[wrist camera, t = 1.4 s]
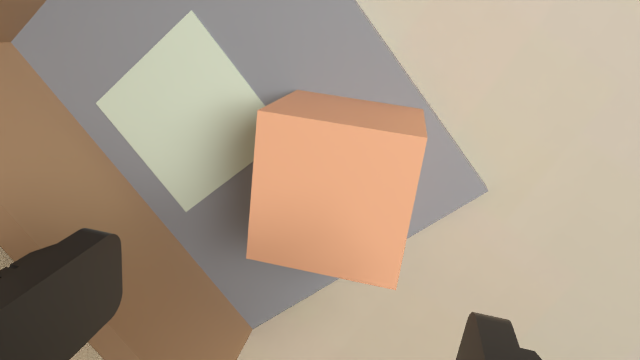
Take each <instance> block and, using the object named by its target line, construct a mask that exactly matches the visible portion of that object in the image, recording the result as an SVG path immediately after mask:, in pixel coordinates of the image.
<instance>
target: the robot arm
mask: <svg viewBox="0 0 640 360" xmlns="http://www.w3.org/2000/svg"><path fill="white" fill-rule="evenodd" d="M122 293H123V285H122V249H121V240H120V238H119V236H118V235H116V234H113V233H108V232H103V231H99V230H94V229H89V228H82V229H80V230H78V231H76V232H75V233H73V234H71V235H70V236H68V237H67V238H65V239H63V240H62V241H60V242H58V243H57V244H54V245H51V246H48V247H45V248H42V249H39V250H36V251H33V252H30V253H29V254H27V255H25V256H24V257H22V258H20V259H19V260H17V261H15V262H14V263H12V264H10V267H9V268H8V267H5V268H3V269H2V270H0V360H70V359H71V358H72V357H73V356H74V355H75V354H76V353H77V352H78V351H79V350H80V349H81V348H82V347H83V346H84V345H85V344H86V343H87V342H88V341H89V340H90V339H91V338H92V337H93V336H94V335H95V334H96V333H97V332H98V331H99V330H100V329H101V328H102V327H103V326H104V325H105V324H106V323H107V322H108V321H110V320H111V318H112V317H113V316H114V315H115V313H116V312H117V310H118V308H119V305H120V302H121V299H122ZM456 360H542V359H541V358H540V357H539V356H538V355H537V354H536V352H535V351H531V350H527V349H523V348H520V347H519V344H518V341H517V338H516V335H515V332H514V329H513V326H512V324H511V322H510V321H509V320H507V319H502V318H498V317H493V316H488V315H484V314H479V313H474V312H472V313H471V314H470V315H469V317H468V320H467V323H466V326H465V330H464V333H463V337H462V340H461V344H460V347H459V351H458V354H457V358H456Z"/></svg>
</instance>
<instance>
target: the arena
mask: <svg viewBox="0 0 640 360" xmlns="http://www.w3.org/2000/svg"><path fill="white" fill-rule="evenodd" d="M296 90H302V91H309V92H315V93H322V94H328V95H335V96H341V97H348V98H354V99H361V100H367V101H374V102H380V103H387V104H393V105H400V106H406V107H413V108H419V109H423V110H424V117H425V124H426V131H427V137H428V138H427V143H426V148H425V153H424V158H423V162H422V167H421V172H420V177H419V182H418V186H417V191H416V196H415V201H414V206H413V210H412V215H411V220H410V225H409V230H408V234H407V238H409V237H411V236H412V235H414V234H416V233H418V232H419V231H421V230H423V229H424V228H426V227H428V226H430V225H431V224H433V223H435V222H436V221H438V220H440V219H441V218H443V217H445V216H447V215H448V214H450V213H452V212H453V211H455V210H457V209H459V208H460V207H462V206H464V205H465V204H467V203H469V202H470V201H472V200H474V199H476V198H477V197H479V196H481V195H482V194H484V193H486V192H487V191H488V190H487V187H486V185H485V184H484V182H483V181H482V179H481V178H480V177H479V175H478V174H477V172H476V171H475V169H474V168H473V167H472V165H471V164H470V162H469V161H468V159H467V158H466V157H465V155H464V154H463V152H462V151H461V150H460V148H459V147H458V145H457V144H456V142H455V141H454V140H453V138H452V137H451V135H450V134H449V133H448V131H447V130H446V128H445V127H444V125H443V124H442V123H441V121H440V120H439V118H438V117H437V115H436V114H435V113H434V111H433V110H432V108H431V107H430V106H429V104H428V103H427V101H426V100H425V98H424V97H423V96H422V94H421V93H420V91H419V90H418V89H417V87H416V86H415V84H414V83H413V81H412V80H411V79H410V77H409V76H408V74H407V73H406V71H405V70H404V69H403V67H402V66H401V64H400V63H399V62H398V60H397V59H396V57H395V56H394V54H393V53H392V52H391V50H390V49H389V47H388V46H387V45H386V43H385V42H384V40H383V39H382V37H381V36H380V35H379V33H378V32H377V30H376V29H375V27H374V26H373V25H372V23H371V22H370V20H369V19H368V18H367V16H366V15H365V13H364V12H363V10H362V9H361V8H360V6H359V5H358V3H357V2H356V1H355V0H0V246H1V247H2V249H3V250H4V251H5V252H6V253H7V254H8V255H9V256H10V257H11V258H12V259H13V261H14V262H15V261H17V260H19V259H20V258H22V257H24V256H25V255H27V254H29V253H30V252H33V251H36V250H39V249H42V248H45V247H48V246H51V245H54V244H57V243H58V242H60V241H62V240H63V239H65V238H67V237H68V236H70V235H71V234H73V233H75V232H76V231H78V230H80V229H82V228H89V229H94V230H99V231H103V232H108V233H113V234H116V235H118V236H119V238H120V240H121V249H122V285H123V293H122V299H121V302H120V305H119V308H118V310H117V312H116V313H115V315H114V316H113V317H112V318H111V320H110V321H108V322H107V323H106V324H105V325H104V326H103V327H102V328H101V329H100V330H99V331H98V332H97V333H96V334H95V335H94V336H93V337H92V338H91V339H90V340H89V341H88V343H89V344H90V345H91V346H92V347H93V348H94V349H95V350H96V351H97V352H98V353H99V355H100V356H101V357H102V358H103V359H104V360H237V358H238V356H239V354H240V352H241V350H242V348H243V346H244V345H245V343H246V341H247V339H248V337H249V335H250V333H251V331H252V330H253V329H254V328H256V327H257V326H259V325H261V324H262V323H264V322H266V321H268V320H269V319H271V318H273V317H274V316H276V315H278V314H280V313H281V312H283V311H285V310H286V309H288V308H290V307H291V306H293V305H295V304H297V303H298V302H300V301H302V300H303V299H305V298H307V297H308V296H310V295H312V294H314V293H315V292H317V291H319V290H320V289H322V288H324V287H326V286H327V285H329V284H331V283H332V282H334V281H336V280H337V279H339V278H337V277H332V276H327V275H322V274H318V273H313V272H308V271H303V270H299V269H294V268H289V267H284V266H280V265H275V264H270V263H265V262H261V261H256V260H251V259H247V258H246V253H247V240H248V227H249V214H250V201H251V188H252V175H253V162H254V148H255V135H256V122H257V110H259V109H261V108H263V107H265V106H267V105H269V104H271V103H273V102H275V101H276V100H278V99H280V98H282V97H284V96H286V95H288V94H290V93H292V92H294V91H296Z"/></svg>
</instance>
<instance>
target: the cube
mask: <svg viewBox="0 0 640 360" xmlns="http://www.w3.org/2000/svg"><path fill="white" fill-rule="evenodd" d="M427 138H428V137H427V131H426V124H425V117H424V110H423V109H419V108H413V107H406V106H400V105H393V104H387V103H380V102H374V101H367V100H361V99H354V98H348V97H341V96H335V95H328V94H322V93H315V92H309V91H302V90H296V91H294V92H292V93H290V94H288V95H286V96H284V97H282V98H280V99H278V100H276V101H275V102H273V103H271V104H269V105H267V106H265V107H263V108H261V109H259V110H257V122H256V135H255V148H254V162H253V175H252V188H251V201H250V214H249V227H248V240H247V253H246V258H247V259H251V260H256V261H261V262H265V263H270V264H275V265H280V266H284V267H289V268H294V269H299V270H303V271H308V272H313V273H318V274H322V275H327V276H332V277H337V278H341V279H346V280H351V281H355V282H360V283H365V284H370V285H374V286H379V287H384V288H389V289H393V290H396V287H397V282H398V278H399V273H400V268H401V263H402V258H403V254H404V249H405V244H406V239H407V234H408V230H409V225H410V220H411V215H412V210H413V206H414V201H415V196H416V191H417V186H418V182H419V177H420V172H421V167H422V162H423V158H424V153H425V148H426V143H427Z"/></svg>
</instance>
